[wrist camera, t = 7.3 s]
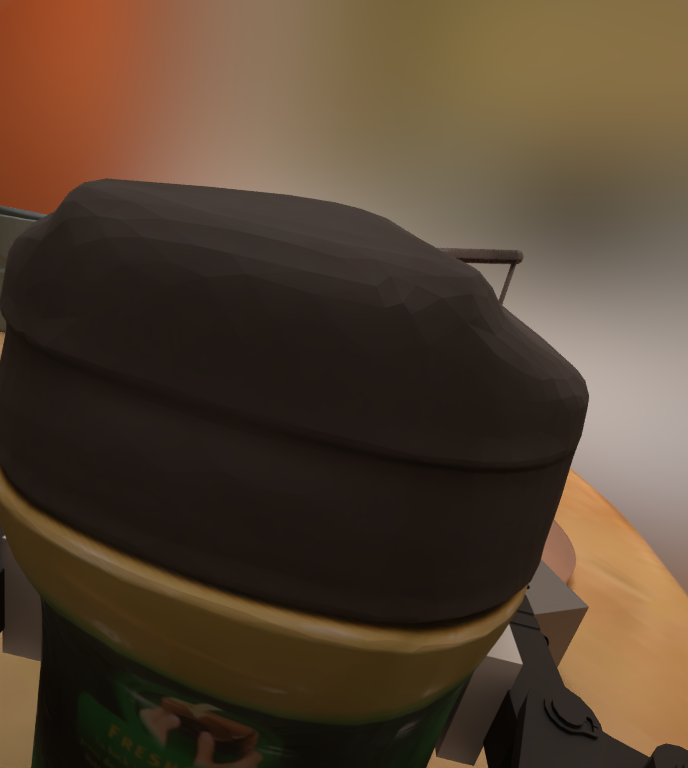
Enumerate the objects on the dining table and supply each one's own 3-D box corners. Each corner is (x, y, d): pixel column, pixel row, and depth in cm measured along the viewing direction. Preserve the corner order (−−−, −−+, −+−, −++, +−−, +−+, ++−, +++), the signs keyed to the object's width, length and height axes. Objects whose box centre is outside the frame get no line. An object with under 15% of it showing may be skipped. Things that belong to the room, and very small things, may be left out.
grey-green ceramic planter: (-4, 339, 46) (-5, 215, 42) (-63, 311, 49) (-68, 194, 45) (88, 330, 55) (94, 227, 51) (33, 307, 58) (35, 208, 54)
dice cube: (486, 604, 27) (516, 534, 25) (548, 685, 22) (588, 607, 21) (413, 613, 25) (441, 537, 23) (465, 703, 20) (504, 618, 19)
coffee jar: (171, 678, 18) (248, 191, 12) (360, 749, 17) (537, 262, 12) (-90, 1103, 9) (-259, 25, 3) (280, 1297, 8) (915, 299, 2)
